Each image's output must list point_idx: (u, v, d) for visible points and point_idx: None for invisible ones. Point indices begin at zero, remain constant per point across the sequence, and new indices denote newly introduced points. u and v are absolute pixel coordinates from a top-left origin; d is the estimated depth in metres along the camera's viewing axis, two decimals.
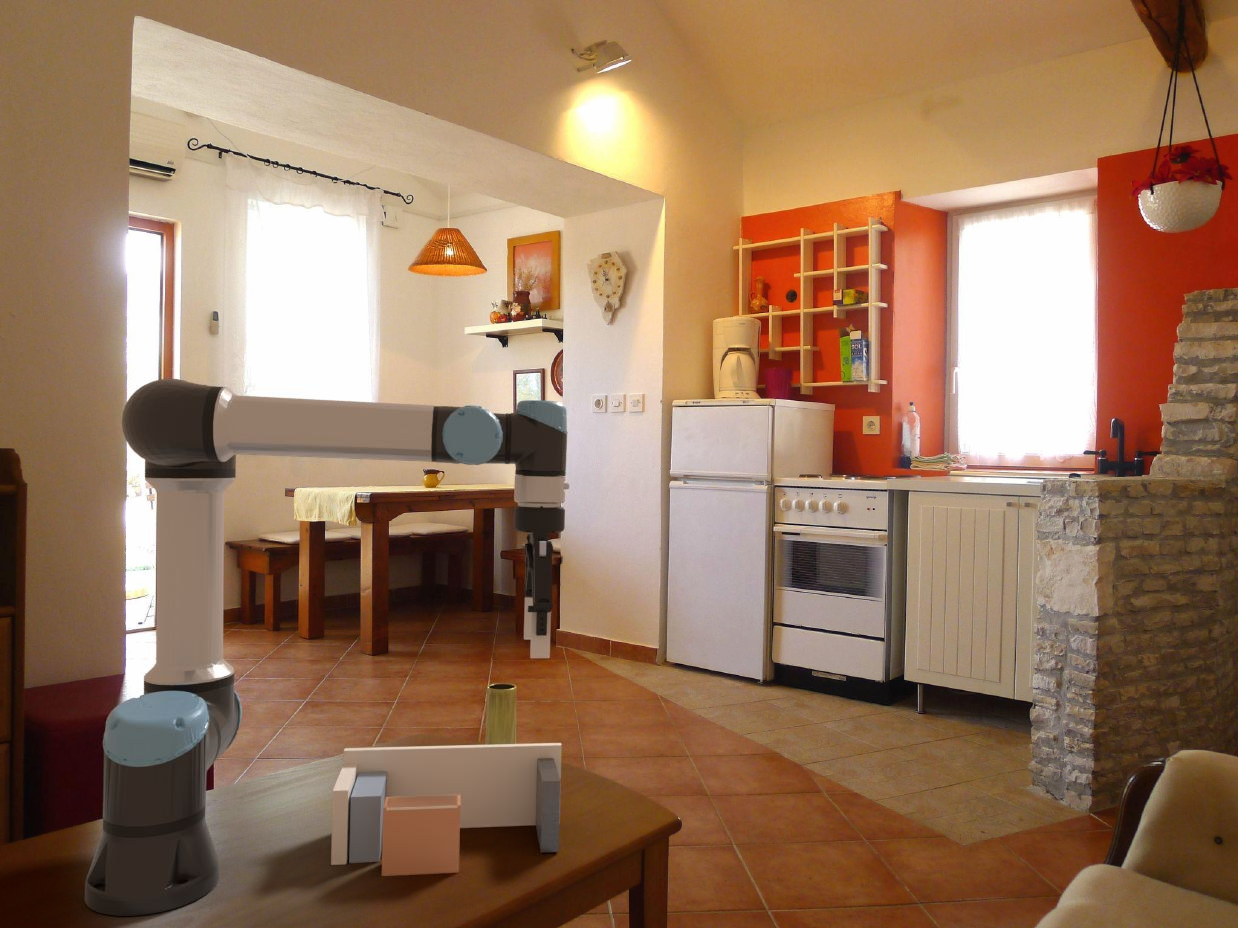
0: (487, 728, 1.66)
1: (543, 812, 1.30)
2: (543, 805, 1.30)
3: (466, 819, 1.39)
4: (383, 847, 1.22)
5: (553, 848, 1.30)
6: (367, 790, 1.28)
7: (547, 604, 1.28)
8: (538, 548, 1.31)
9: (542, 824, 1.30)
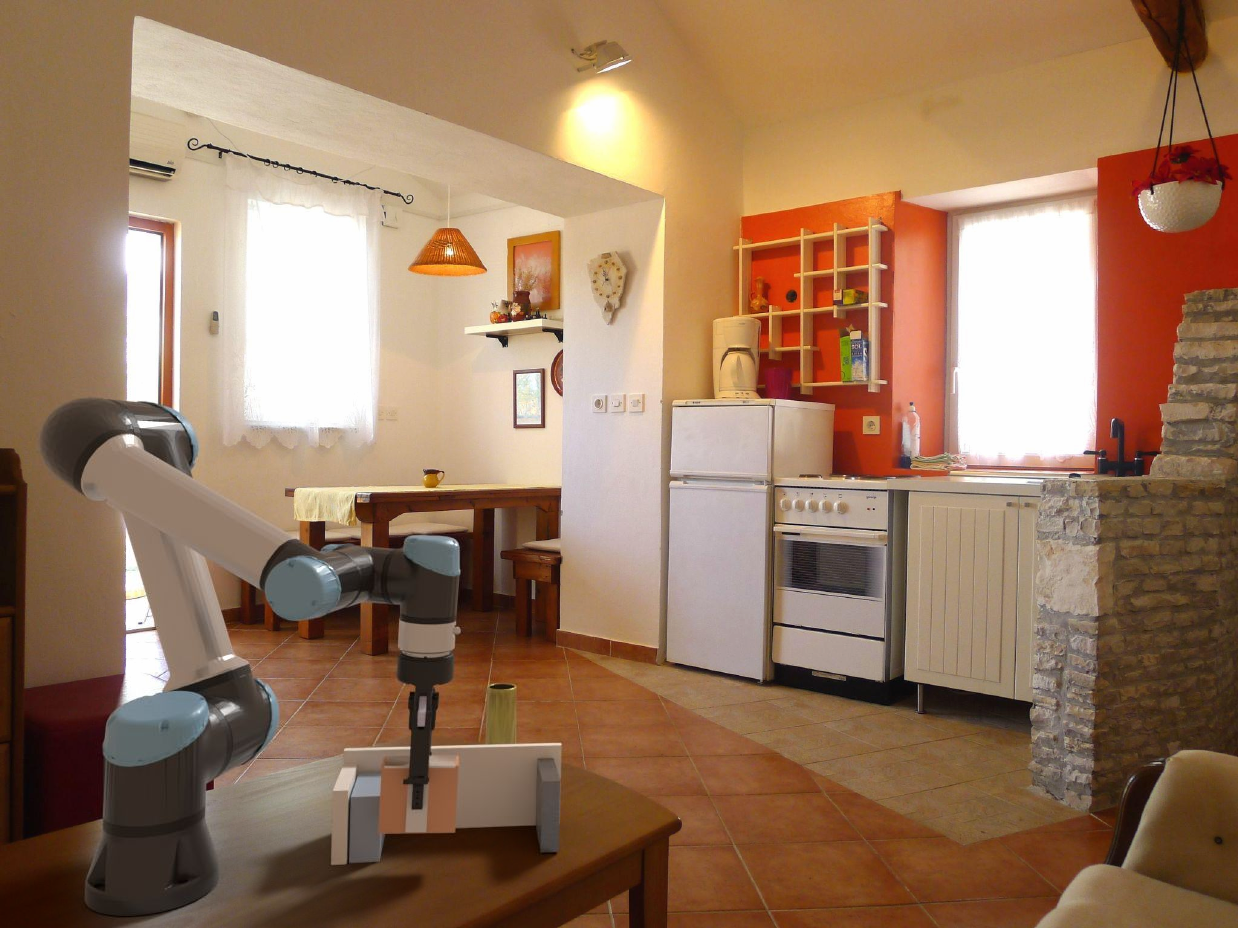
0: (487, 728, 1.66)
1: (543, 812, 1.30)
2: (543, 805, 1.30)
3: (466, 819, 1.39)
4: (380, 804, 1.22)
5: (553, 848, 1.30)
6: (367, 790, 1.28)
7: (422, 781, 1.20)
8: (416, 721, 1.19)
9: (542, 824, 1.30)
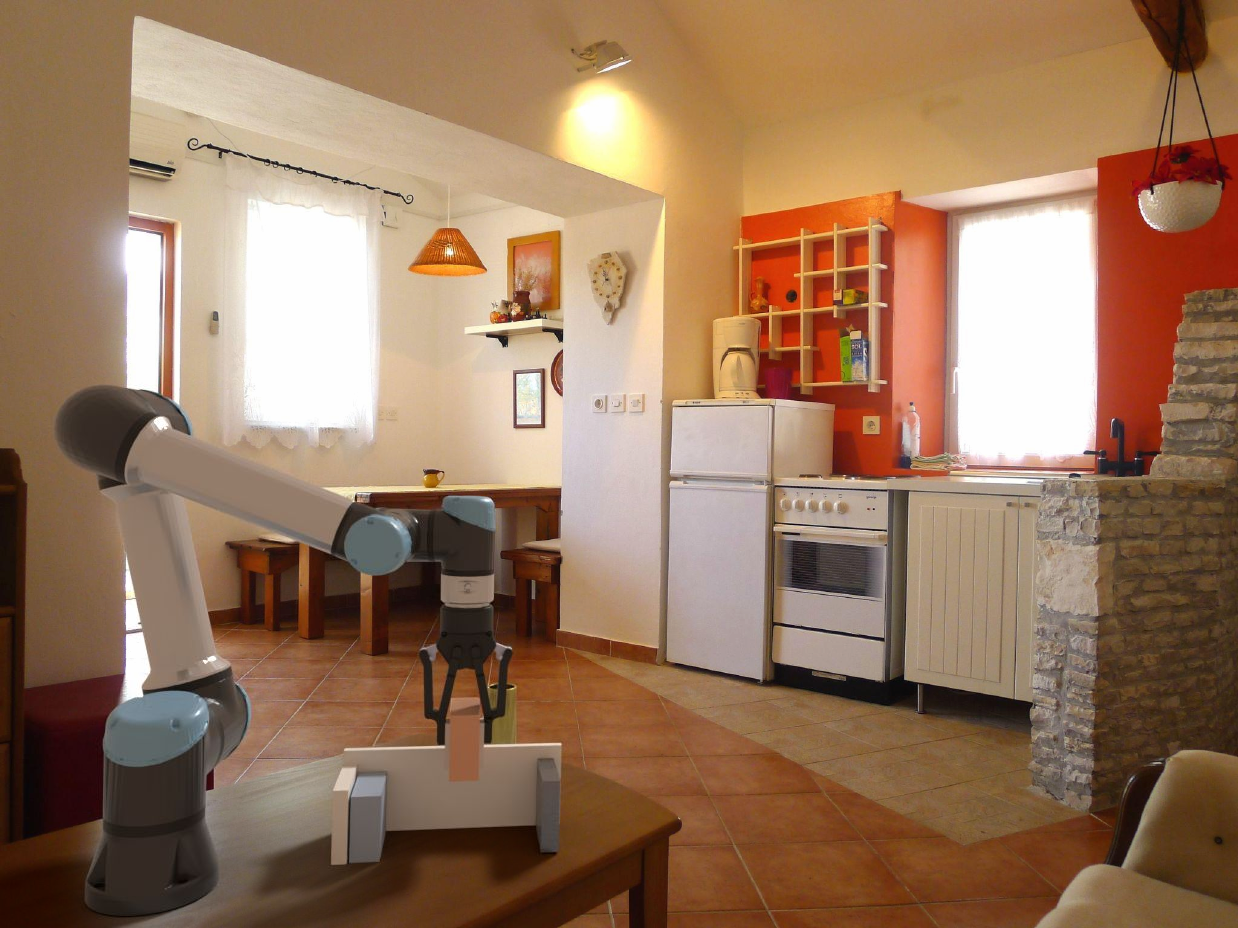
0: None
1: (543, 812, 1.30)
2: (543, 805, 1.30)
3: (466, 819, 1.39)
4: None
5: (553, 848, 1.30)
6: (367, 790, 1.28)
7: None
8: None
9: (542, 824, 1.30)
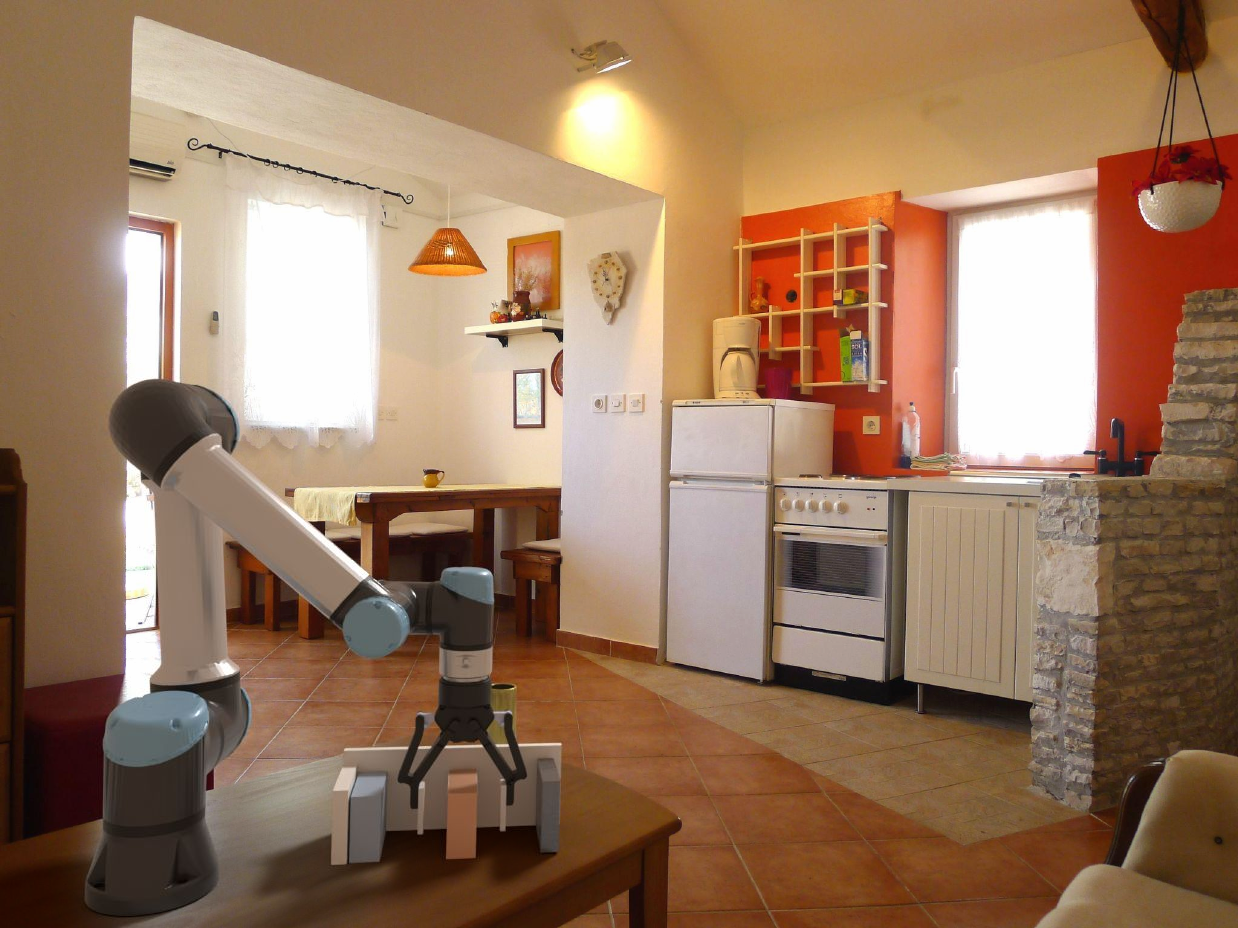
0: None
1: (543, 812, 1.30)
2: (543, 805, 1.30)
3: None
4: None
5: (553, 848, 1.30)
6: (367, 790, 1.28)
7: (398, 776, 1.31)
8: None
9: (542, 824, 1.30)
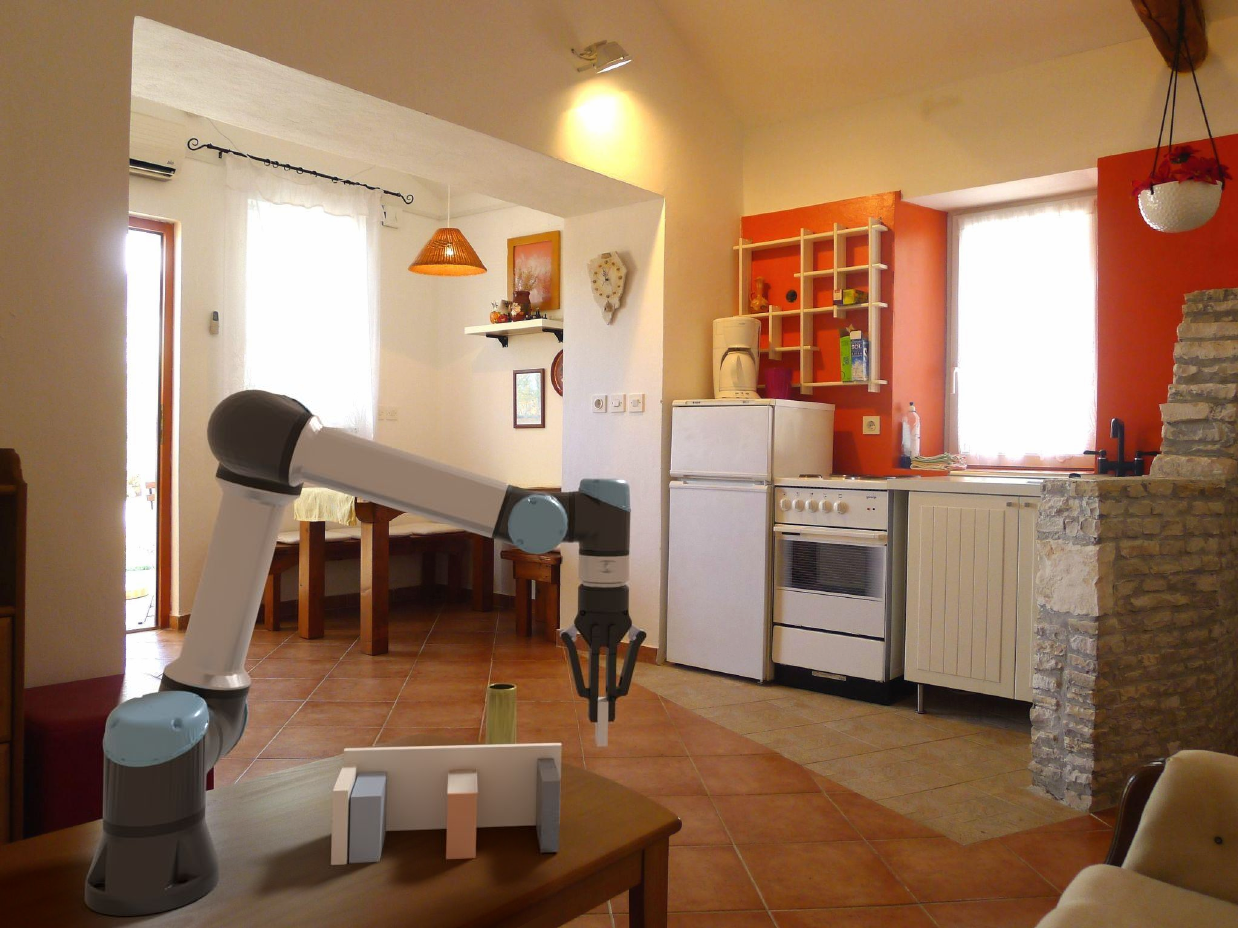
0: (487, 728, 1.66)
1: (543, 812, 1.30)
2: (543, 805, 1.30)
3: None
4: None
5: (553, 848, 1.30)
6: (367, 790, 1.28)
7: (578, 693, 1.35)
8: None
9: (542, 824, 1.30)
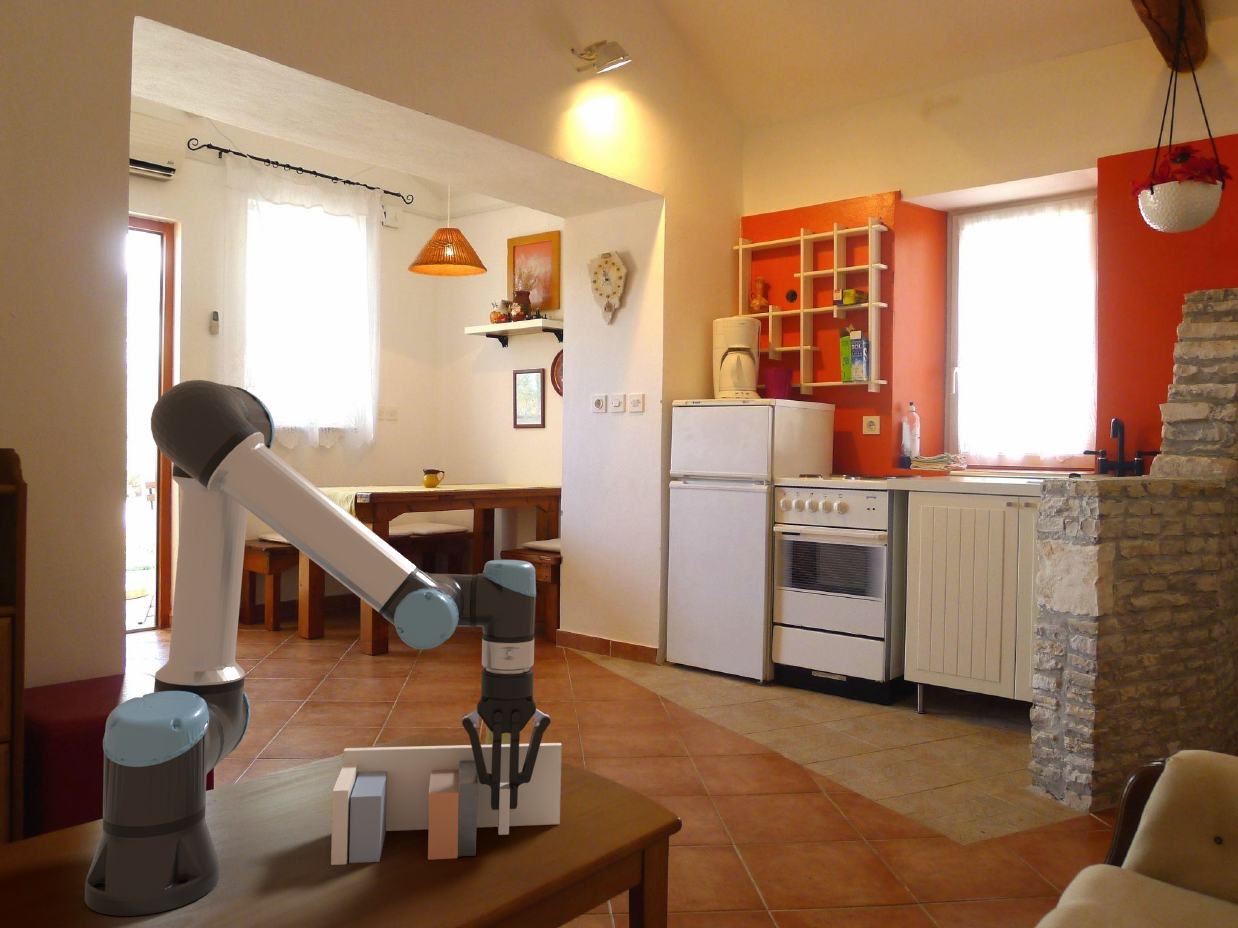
0: (487, 728, 1.66)
1: (460, 815, 1.28)
2: (460, 808, 1.28)
3: None
4: None
5: (470, 852, 1.29)
6: (367, 790, 1.28)
7: None
8: None
9: (459, 827, 1.28)
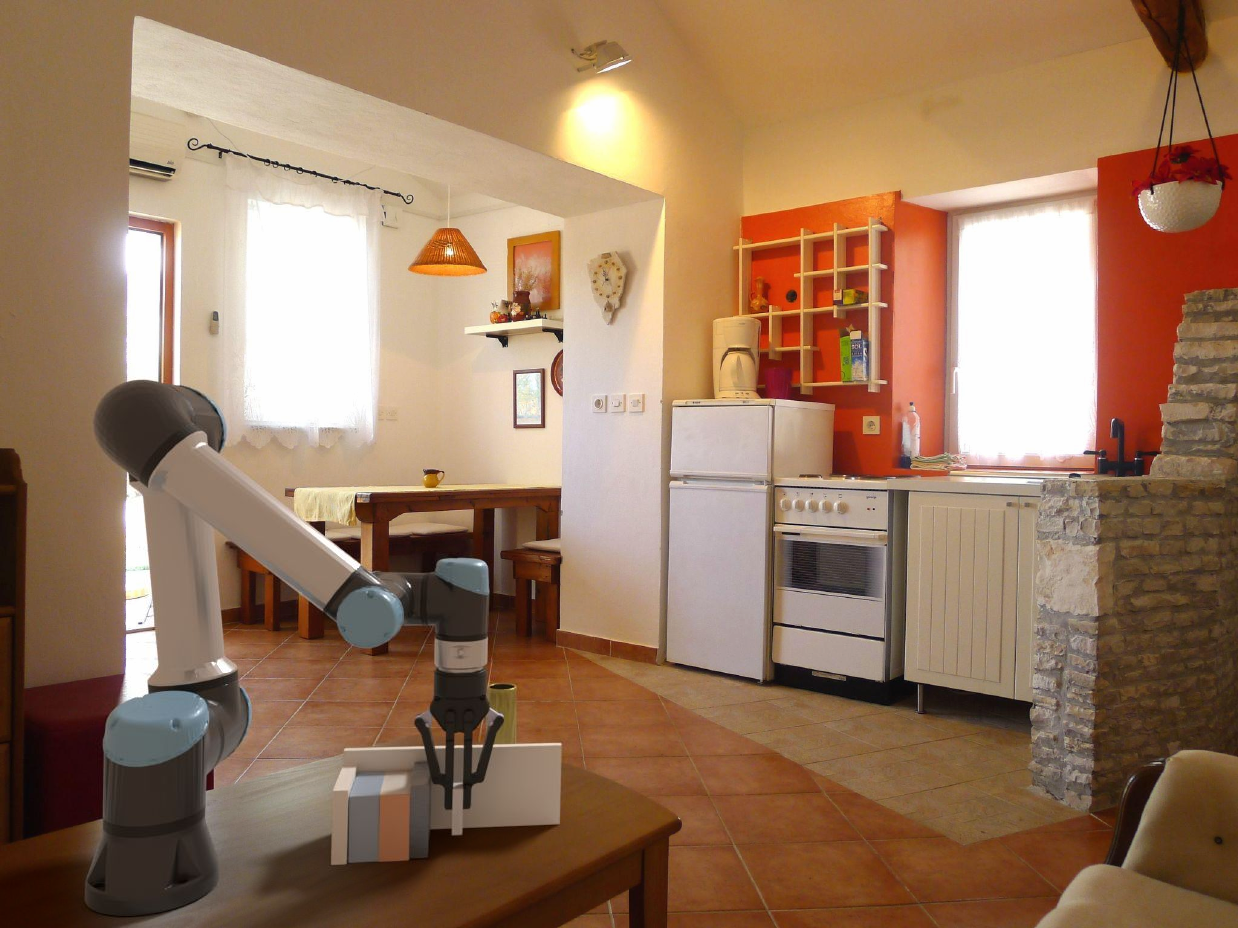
0: (487, 728, 1.66)
1: (411, 817, 1.27)
2: (411, 810, 1.27)
3: (466, 819, 1.39)
4: None
5: (422, 854, 1.28)
6: (366, 790, 1.28)
7: None
8: None
9: (410, 829, 1.27)
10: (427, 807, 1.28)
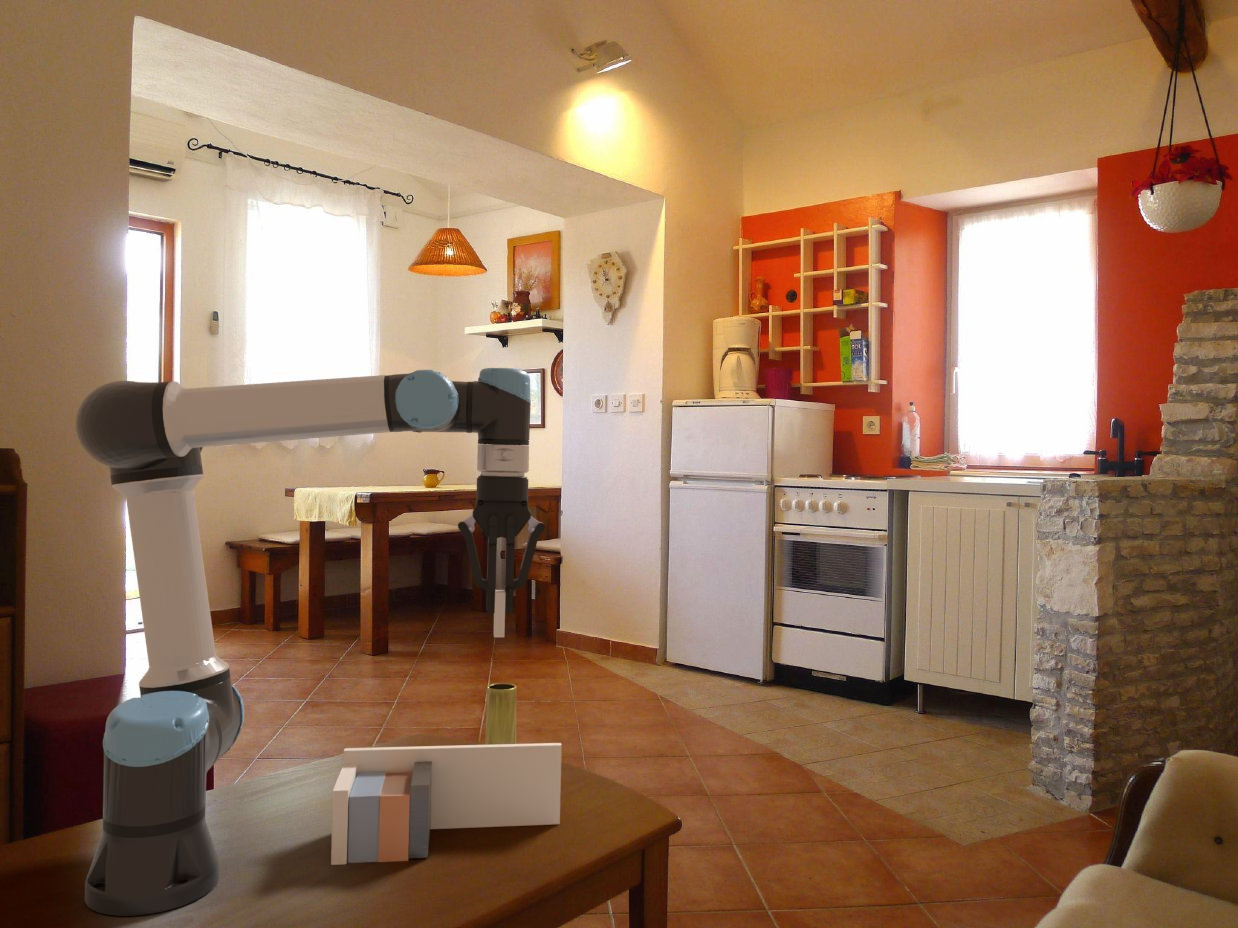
0: (487, 728, 1.66)
1: (411, 817, 1.27)
2: (411, 810, 1.27)
3: (466, 819, 1.39)
4: None
5: (422, 854, 1.28)
6: (366, 790, 1.28)
7: (475, 583, 1.35)
8: None
9: (410, 829, 1.27)
10: (427, 807, 1.28)
